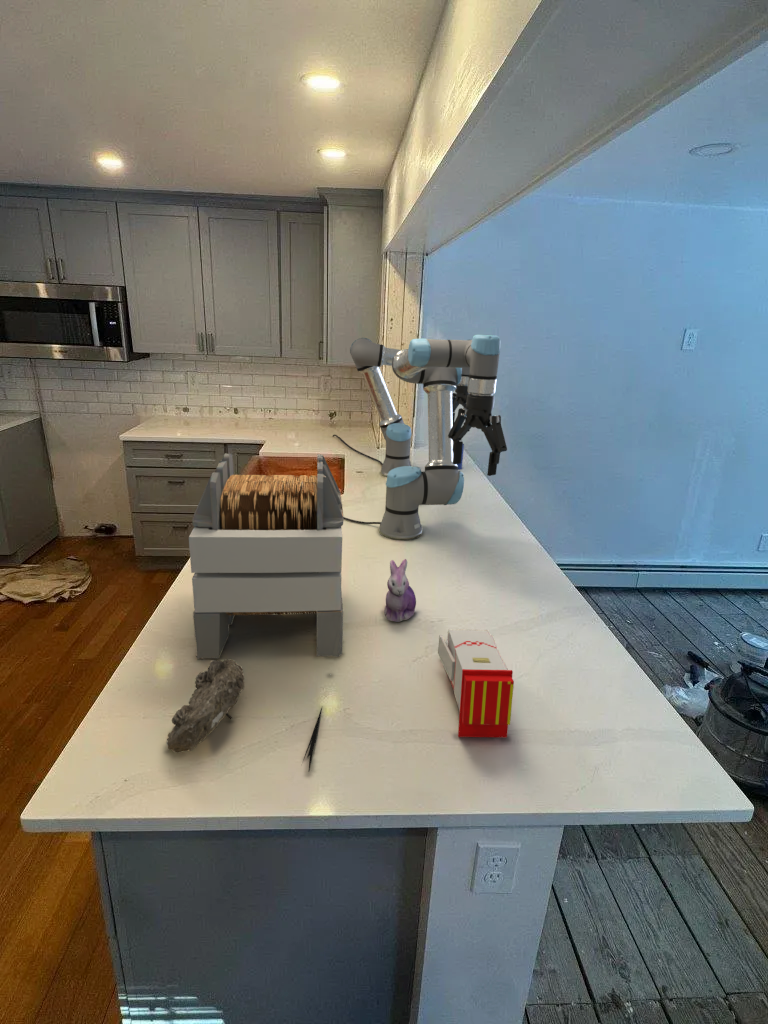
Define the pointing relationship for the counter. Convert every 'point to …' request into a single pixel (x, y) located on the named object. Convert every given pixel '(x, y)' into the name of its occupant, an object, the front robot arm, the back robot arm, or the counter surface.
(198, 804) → the counter surface
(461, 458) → the can
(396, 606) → the figurine
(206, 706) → the fossil
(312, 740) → the feather
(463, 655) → the toy
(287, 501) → the transformer
